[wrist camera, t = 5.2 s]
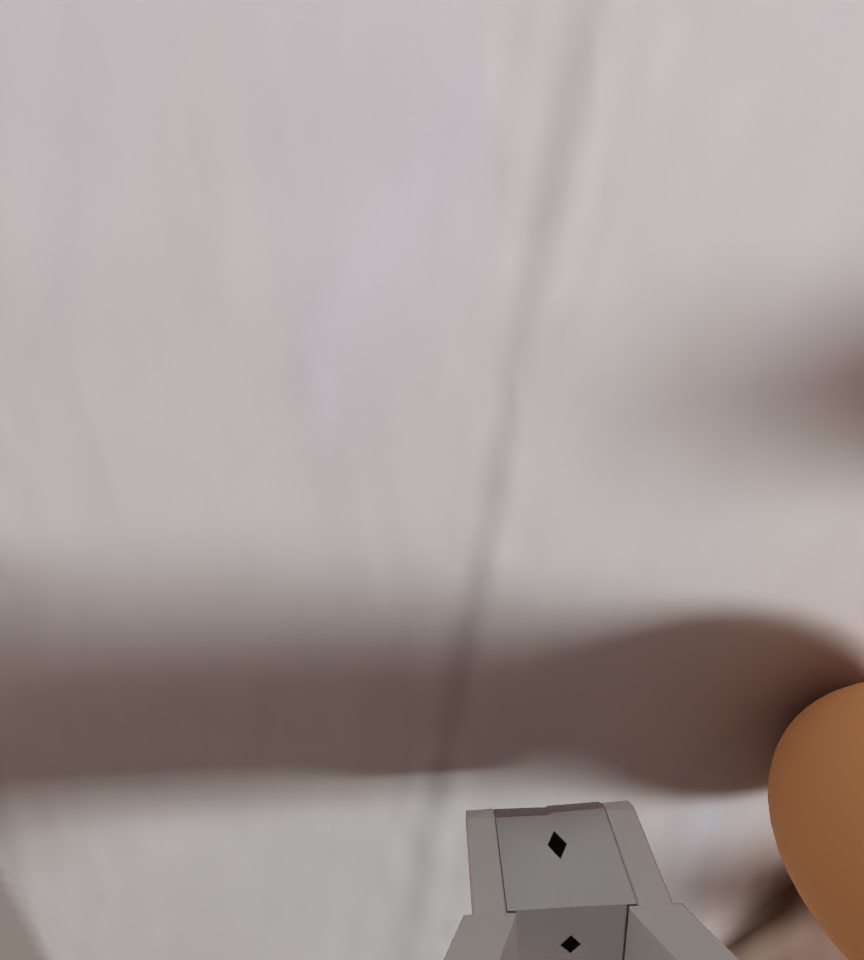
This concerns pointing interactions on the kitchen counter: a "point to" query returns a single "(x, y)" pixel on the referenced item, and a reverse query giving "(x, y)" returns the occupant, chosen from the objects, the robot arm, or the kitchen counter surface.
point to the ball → (824, 812)
